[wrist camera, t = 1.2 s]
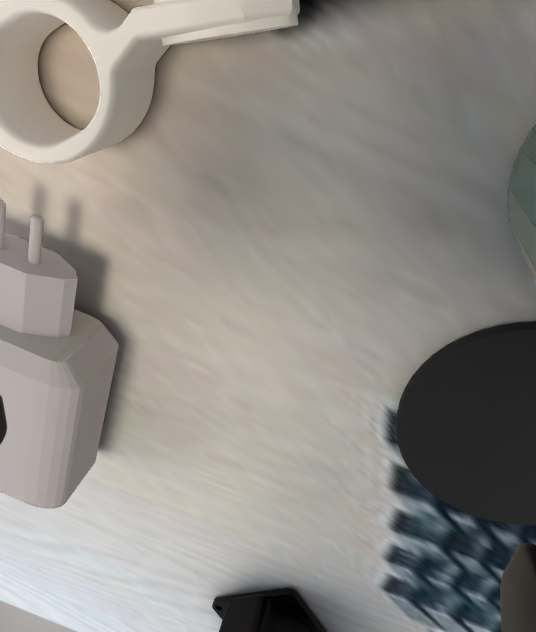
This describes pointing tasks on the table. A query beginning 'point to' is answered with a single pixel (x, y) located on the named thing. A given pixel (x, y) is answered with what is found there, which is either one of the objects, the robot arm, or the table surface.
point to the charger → (48, 372)
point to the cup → (524, 199)
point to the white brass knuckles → (107, 63)
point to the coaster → (476, 424)
